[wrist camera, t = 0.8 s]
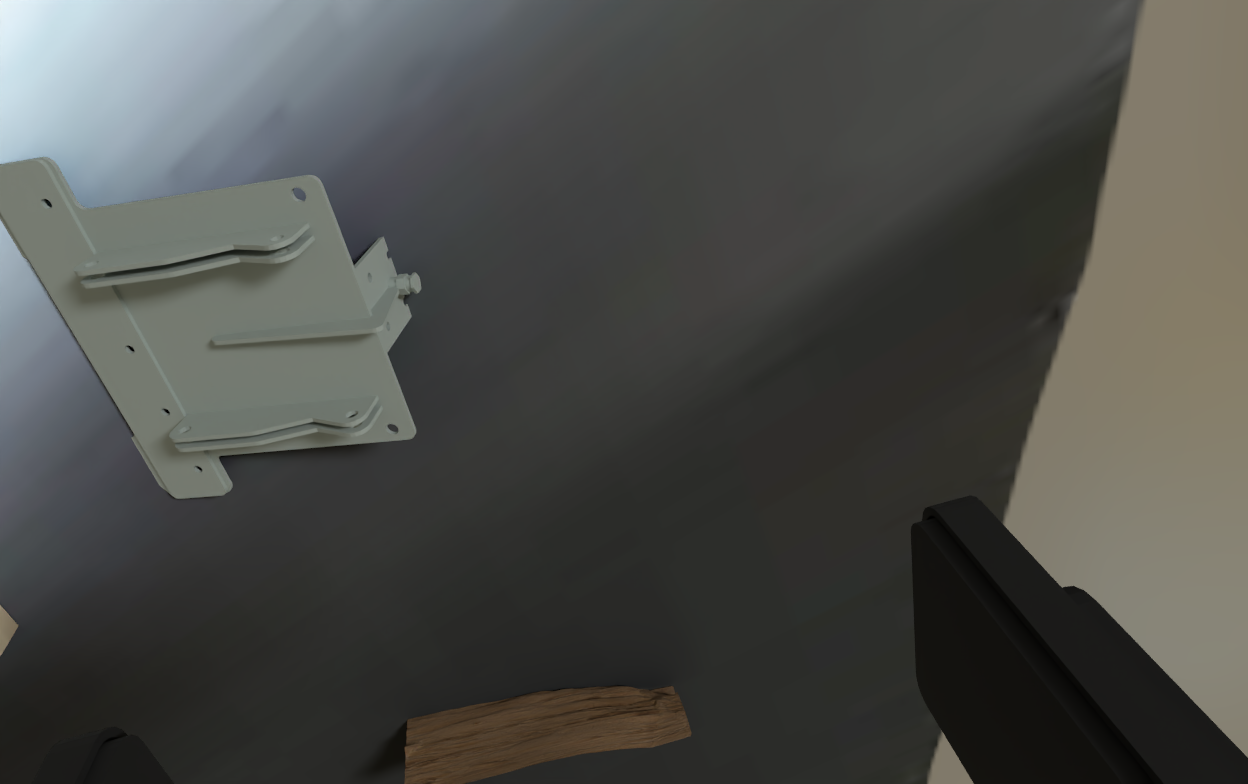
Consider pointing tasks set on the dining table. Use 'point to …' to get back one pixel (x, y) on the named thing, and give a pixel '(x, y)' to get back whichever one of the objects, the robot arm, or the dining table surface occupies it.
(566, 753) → the wood plank
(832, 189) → the dining table surface
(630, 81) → the dining table surface
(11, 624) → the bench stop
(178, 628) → the dining table surface
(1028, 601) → the robot arm
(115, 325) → the metal bracket
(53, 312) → the dining table surface
